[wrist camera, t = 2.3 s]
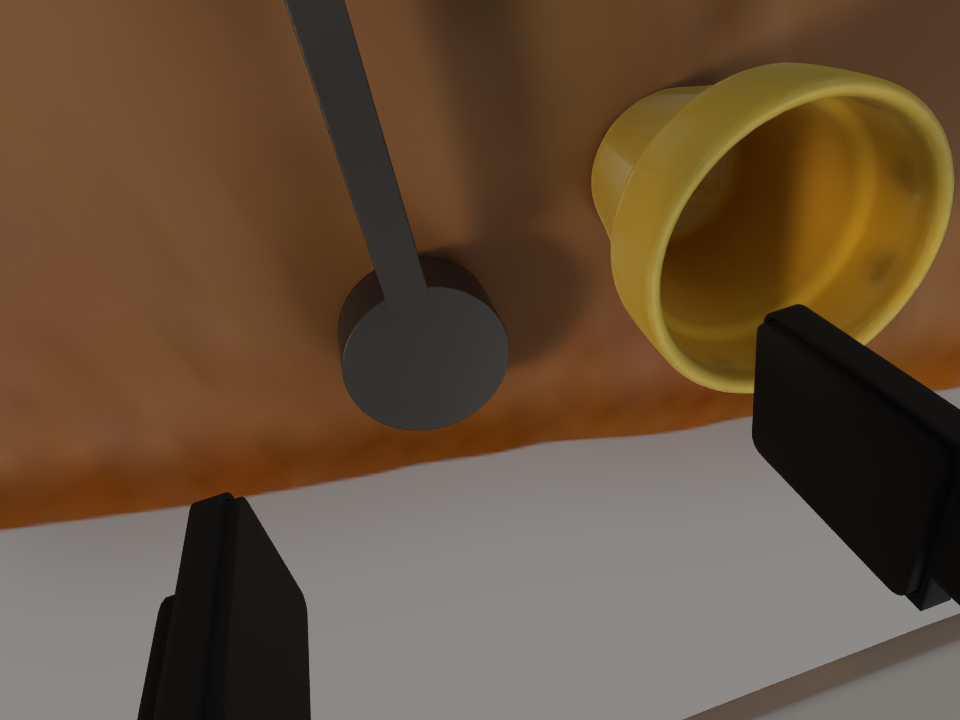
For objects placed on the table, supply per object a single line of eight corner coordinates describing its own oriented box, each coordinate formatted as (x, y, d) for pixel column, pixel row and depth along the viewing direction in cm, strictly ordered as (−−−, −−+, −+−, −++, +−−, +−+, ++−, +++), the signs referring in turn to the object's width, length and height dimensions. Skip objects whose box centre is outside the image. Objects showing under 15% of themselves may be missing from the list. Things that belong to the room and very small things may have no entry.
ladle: (504, 366, 31) (530, 418, 28) (366, 410, 31) (374, 468, 27) (377, -189, 19) (394, -218, 16) (146, -133, 19) (113, -152, 15)
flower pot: (516, 263, 29) (601, 385, 20) (592, 4, 24) (743, 32, 16) (709, 292, 32) (847, 408, 24) (810, 71, 27) (1027, 122, 19)
